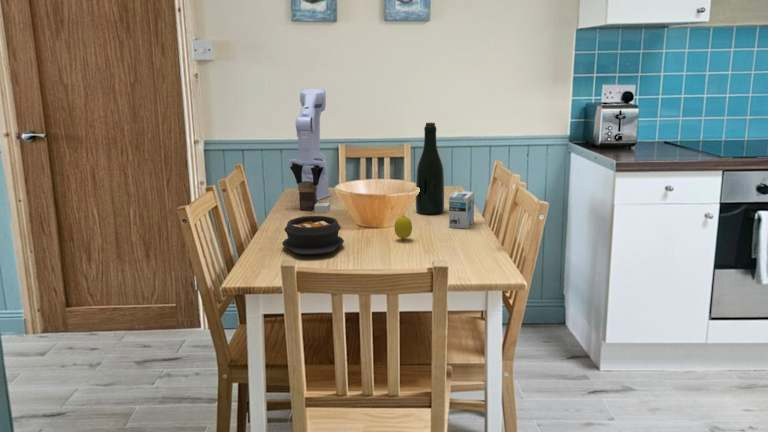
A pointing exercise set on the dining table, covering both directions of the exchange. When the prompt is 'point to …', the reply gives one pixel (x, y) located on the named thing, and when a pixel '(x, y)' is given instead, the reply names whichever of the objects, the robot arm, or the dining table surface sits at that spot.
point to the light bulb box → (461, 209)
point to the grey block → (322, 207)
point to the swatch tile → (325, 202)
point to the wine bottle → (430, 176)
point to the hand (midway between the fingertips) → (307, 184)
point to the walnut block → (306, 186)
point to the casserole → (312, 235)
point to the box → (307, 200)
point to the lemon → (403, 227)
